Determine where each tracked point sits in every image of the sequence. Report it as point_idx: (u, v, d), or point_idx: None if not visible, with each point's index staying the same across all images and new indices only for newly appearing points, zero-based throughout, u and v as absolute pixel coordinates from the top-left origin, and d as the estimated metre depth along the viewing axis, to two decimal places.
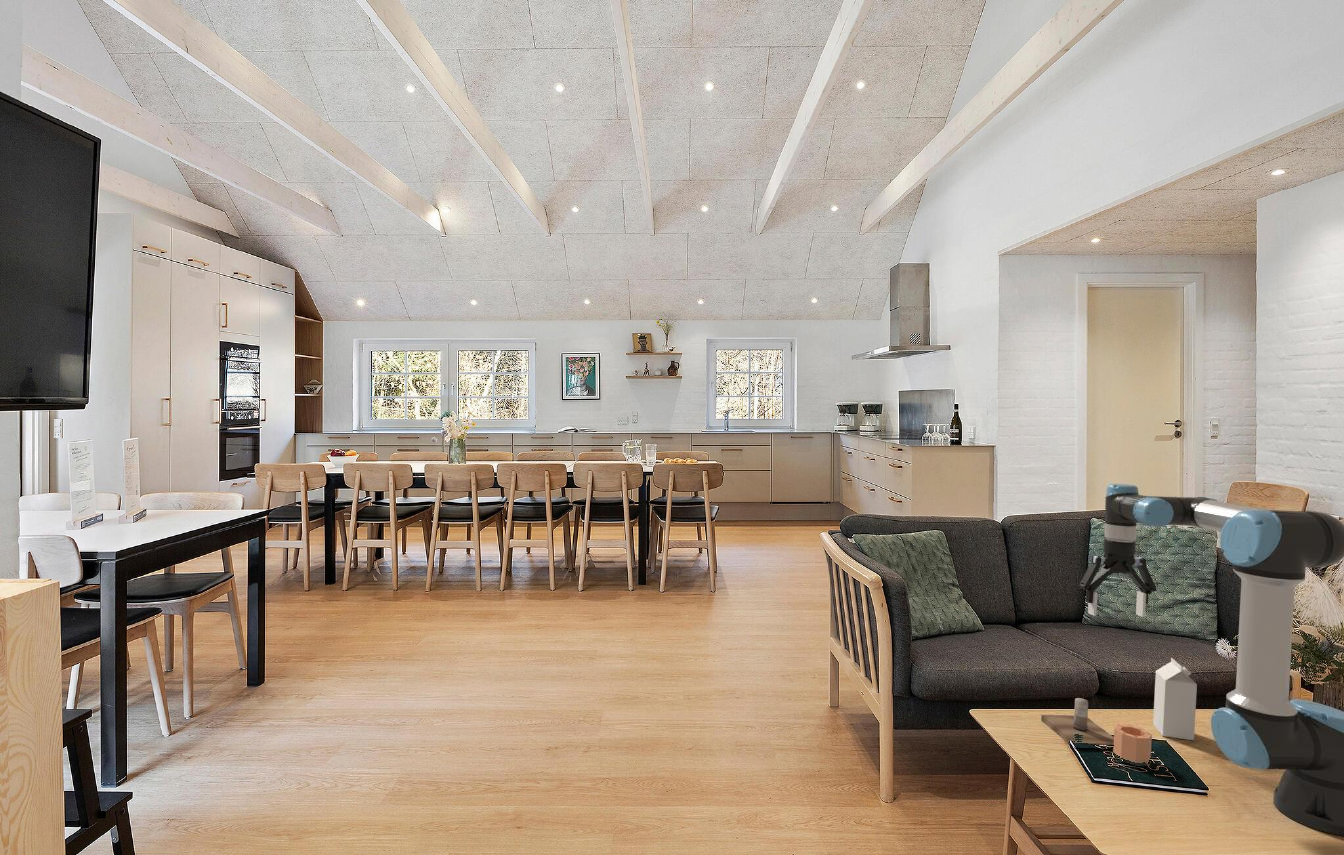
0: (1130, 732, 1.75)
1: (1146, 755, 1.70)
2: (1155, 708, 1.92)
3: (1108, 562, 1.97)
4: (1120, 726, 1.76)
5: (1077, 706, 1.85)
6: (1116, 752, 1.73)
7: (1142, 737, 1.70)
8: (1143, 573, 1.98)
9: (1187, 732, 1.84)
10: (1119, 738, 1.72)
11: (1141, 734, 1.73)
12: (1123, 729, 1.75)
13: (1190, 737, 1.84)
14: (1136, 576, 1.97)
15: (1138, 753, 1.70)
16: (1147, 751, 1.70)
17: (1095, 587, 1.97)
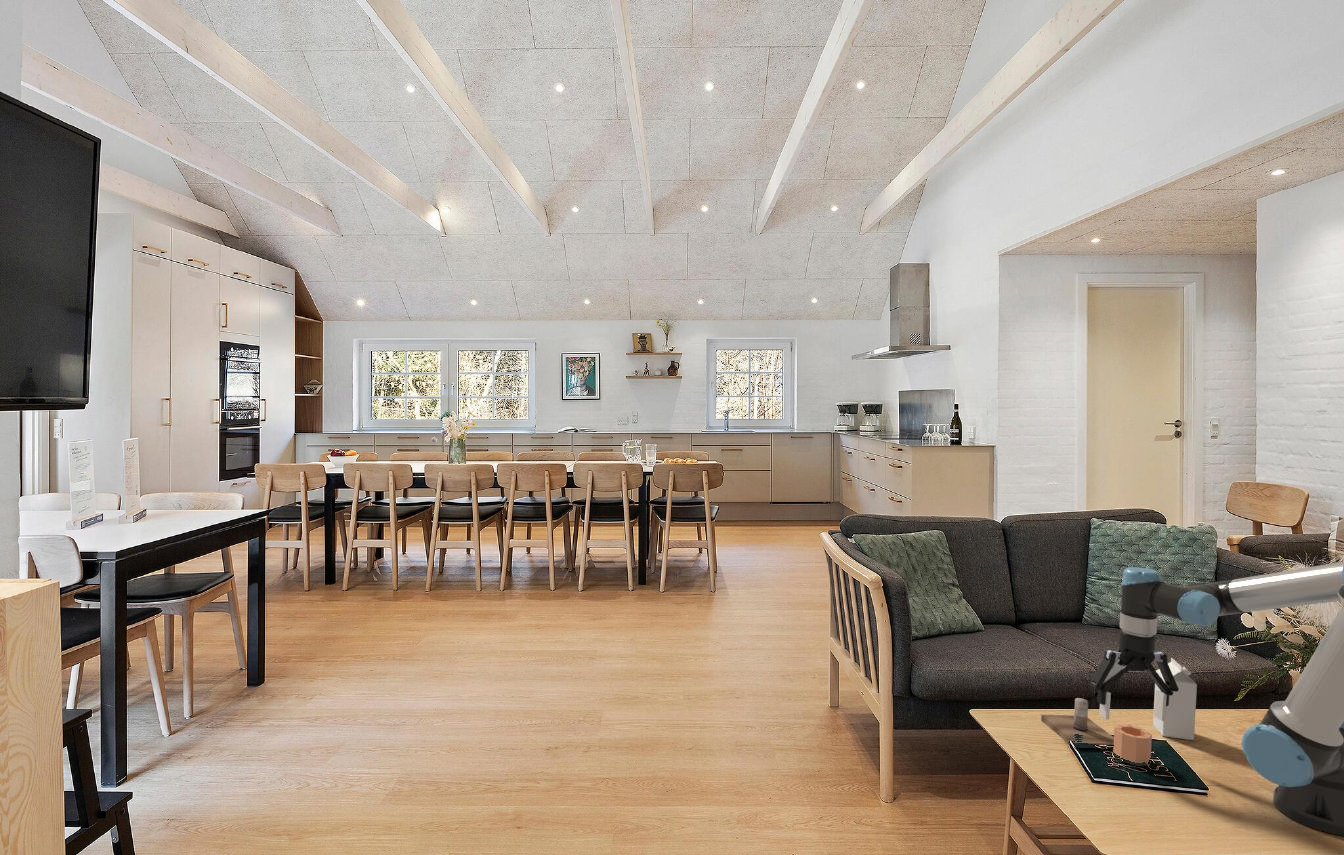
0: (1130, 732, 1.75)
1: (1146, 755, 1.70)
2: None
3: (1124, 658, 1.72)
4: (1120, 726, 1.76)
5: (1077, 706, 1.85)
6: (1116, 752, 1.73)
7: (1142, 737, 1.70)
8: (1163, 671, 1.73)
9: (1187, 731, 1.84)
10: (1119, 738, 1.72)
11: (1141, 734, 1.73)
12: (1123, 729, 1.75)
13: (1190, 737, 1.84)
14: (1155, 674, 1.72)
15: (1138, 753, 1.70)
16: (1147, 751, 1.70)
17: (1108, 687, 1.72)
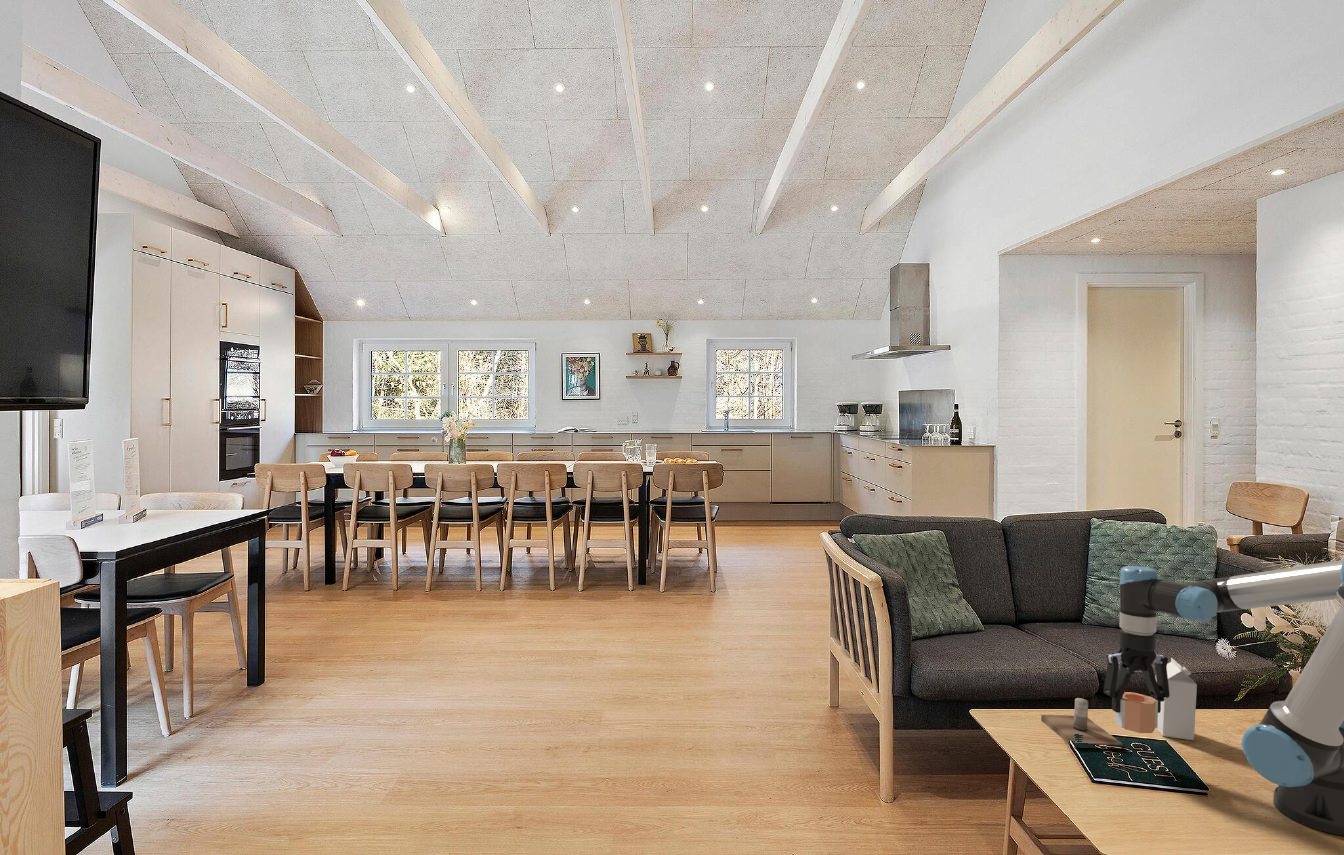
0: (1134, 699, 1.75)
1: (1150, 721, 1.69)
2: None
3: (1126, 658, 1.71)
4: None
5: (1077, 706, 1.85)
6: None
7: (1146, 703, 1.69)
8: (1159, 674, 1.72)
9: (1187, 731, 1.84)
10: None
11: (1145, 701, 1.73)
12: (1127, 696, 1.75)
13: (1190, 737, 1.84)
14: (1152, 677, 1.71)
15: (1142, 719, 1.69)
16: (1151, 717, 1.69)
17: (1121, 693, 1.71)
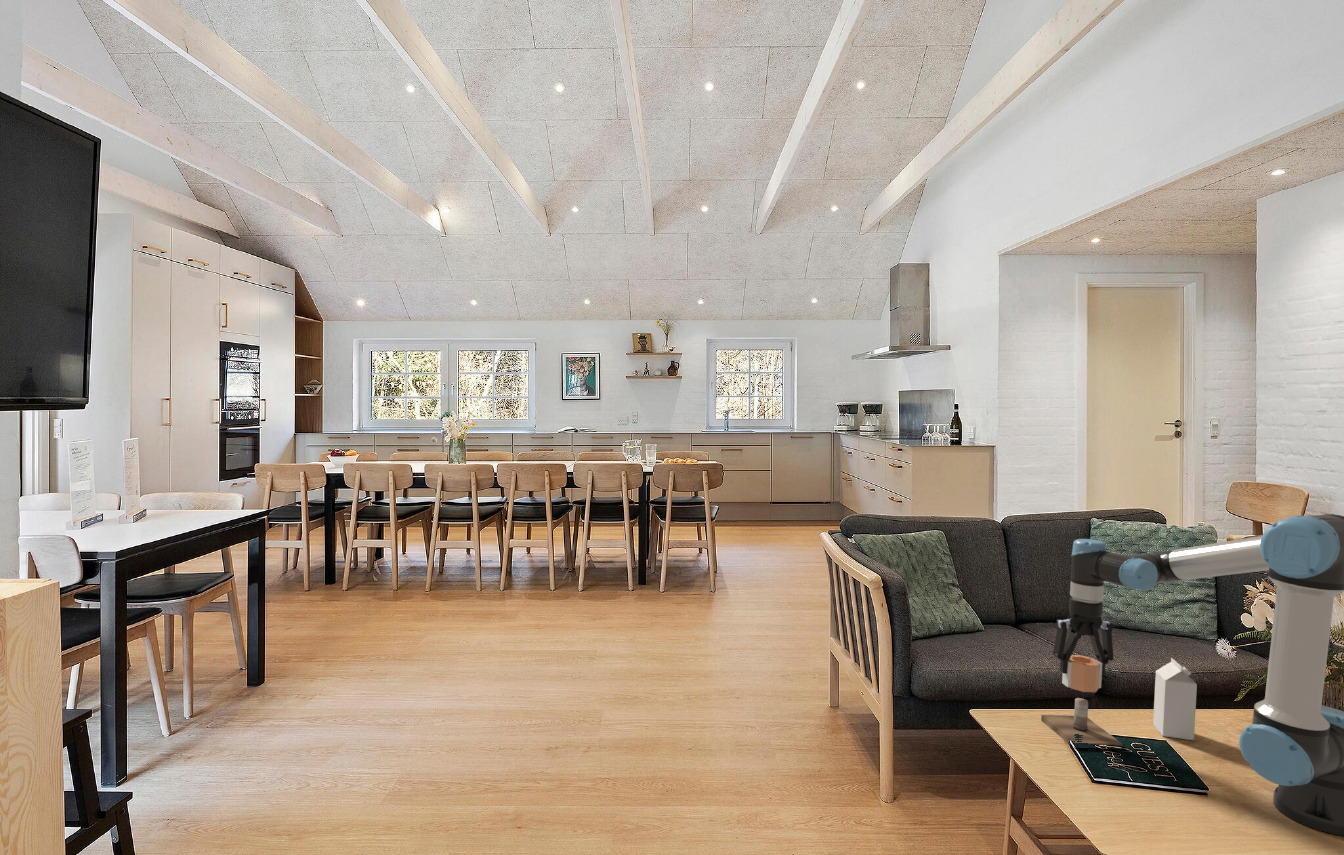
0: (1081, 662, 1.88)
1: (1094, 681, 1.82)
2: (1155, 708, 1.92)
3: (1074, 624, 1.84)
4: (1071, 656, 1.88)
5: (1077, 706, 1.85)
6: None
7: (1090, 664, 1.83)
8: (1105, 639, 1.85)
9: (1187, 732, 1.84)
10: None
11: (1090, 663, 1.86)
12: (1074, 659, 1.88)
13: (1190, 737, 1.84)
14: (1098, 641, 1.84)
15: (1087, 679, 1.82)
16: (1095, 677, 1.82)
17: (1069, 656, 1.85)
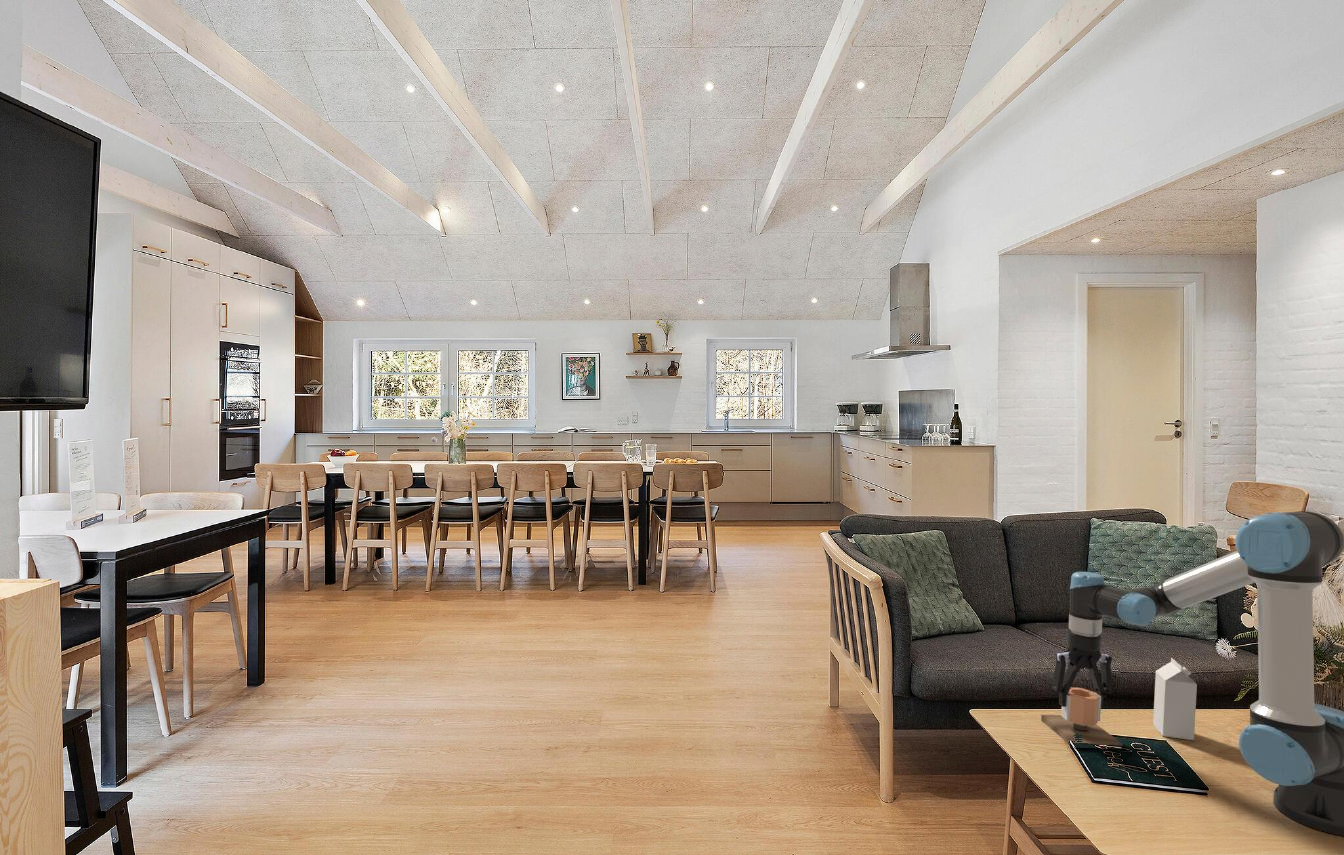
0: (1080, 694, 1.88)
1: (1093, 715, 1.83)
2: (1155, 708, 1.92)
3: (1073, 657, 1.85)
4: (1070, 689, 1.88)
5: None
6: None
7: (1089, 698, 1.83)
8: (1103, 672, 1.86)
9: (1187, 731, 1.84)
10: None
11: (1089, 696, 1.86)
12: (1073, 691, 1.88)
13: (1190, 737, 1.84)
14: (1097, 674, 1.85)
15: (1086, 713, 1.82)
16: (1094, 711, 1.83)
17: (1067, 689, 1.85)
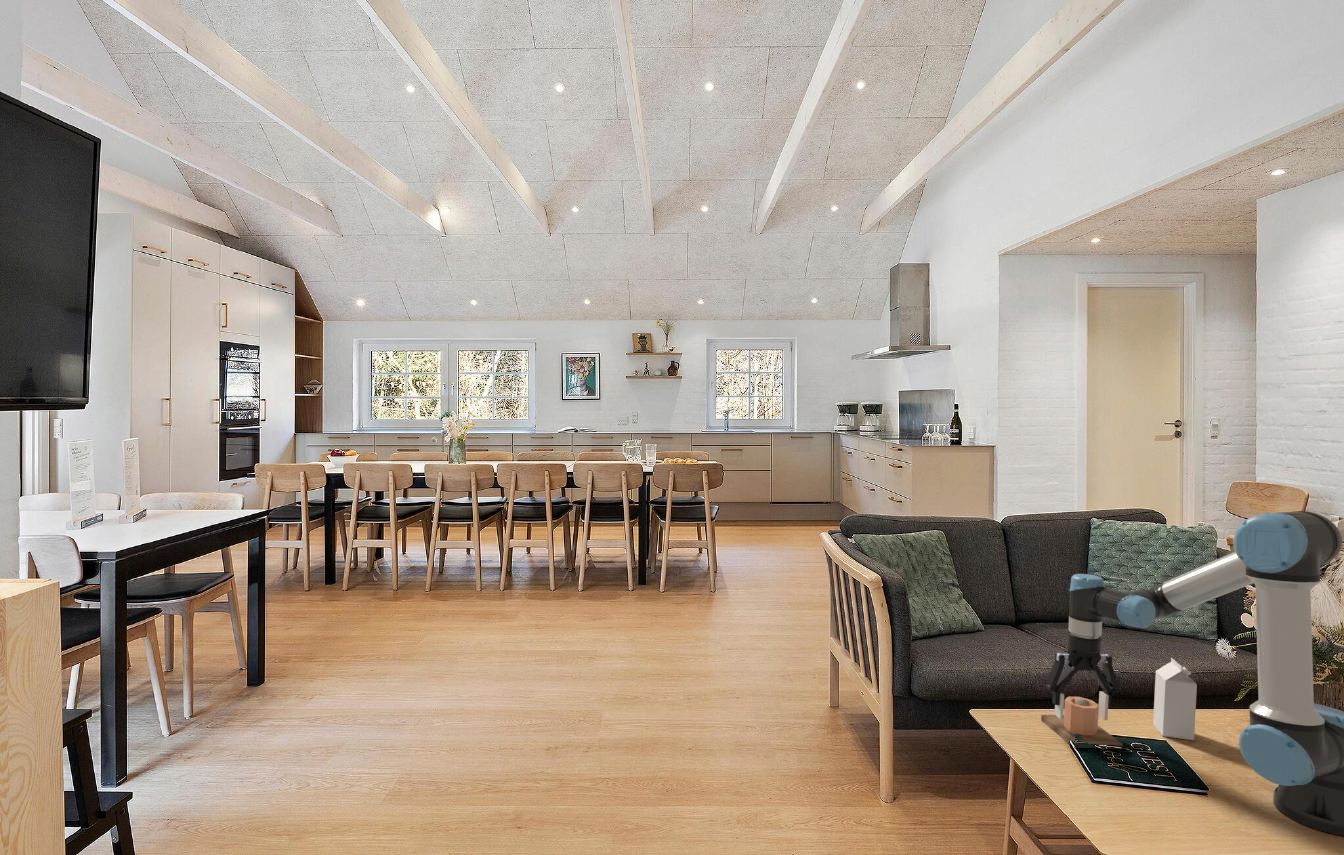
0: None
1: (1093, 724, 1.82)
2: (1155, 708, 1.92)
3: (1072, 659, 1.85)
4: (1070, 698, 1.88)
5: None
6: (1066, 722, 1.86)
7: (1089, 707, 1.83)
8: (1107, 672, 1.86)
9: (1187, 732, 1.84)
10: (1069, 709, 1.85)
11: (1089, 705, 1.86)
12: (1073, 701, 1.88)
13: (1190, 737, 1.84)
14: (1100, 675, 1.85)
15: (1086, 722, 1.82)
16: (1094, 720, 1.83)
17: (1061, 688, 1.85)
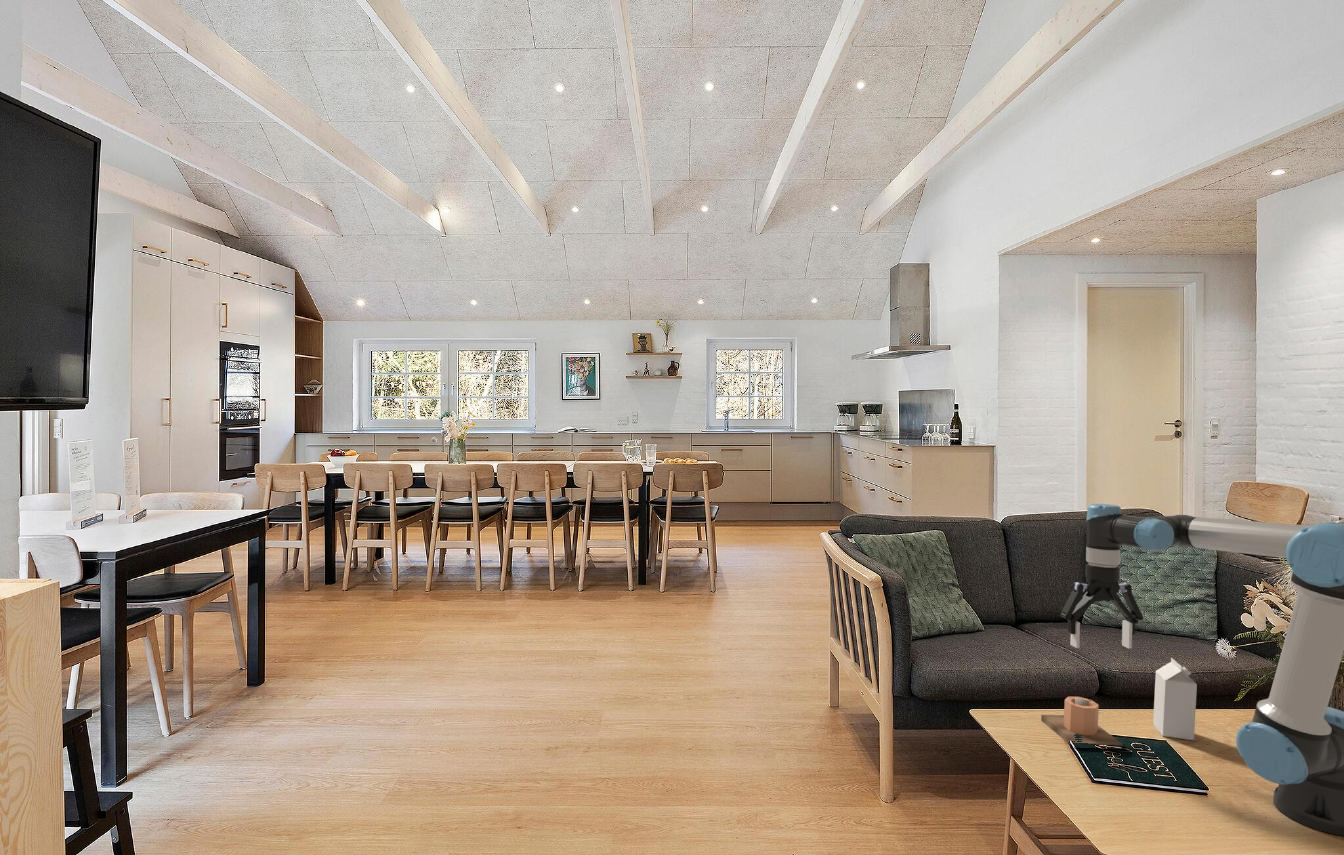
0: None
1: (1093, 724, 1.82)
2: (1155, 708, 1.92)
3: (1091, 589, 1.82)
4: (1070, 698, 1.88)
5: None
6: (1066, 722, 1.86)
7: (1089, 707, 1.83)
8: (1128, 601, 1.83)
9: (1187, 732, 1.84)
10: (1069, 709, 1.85)
11: (1089, 705, 1.86)
12: (1073, 701, 1.88)
13: (1190, 737, 1.84)
14: (1121, 604, 1.82)
15: (1086, 722, 1.82)
16: (1094, 720, 1.83)
17: (1077, 617, 1.82)
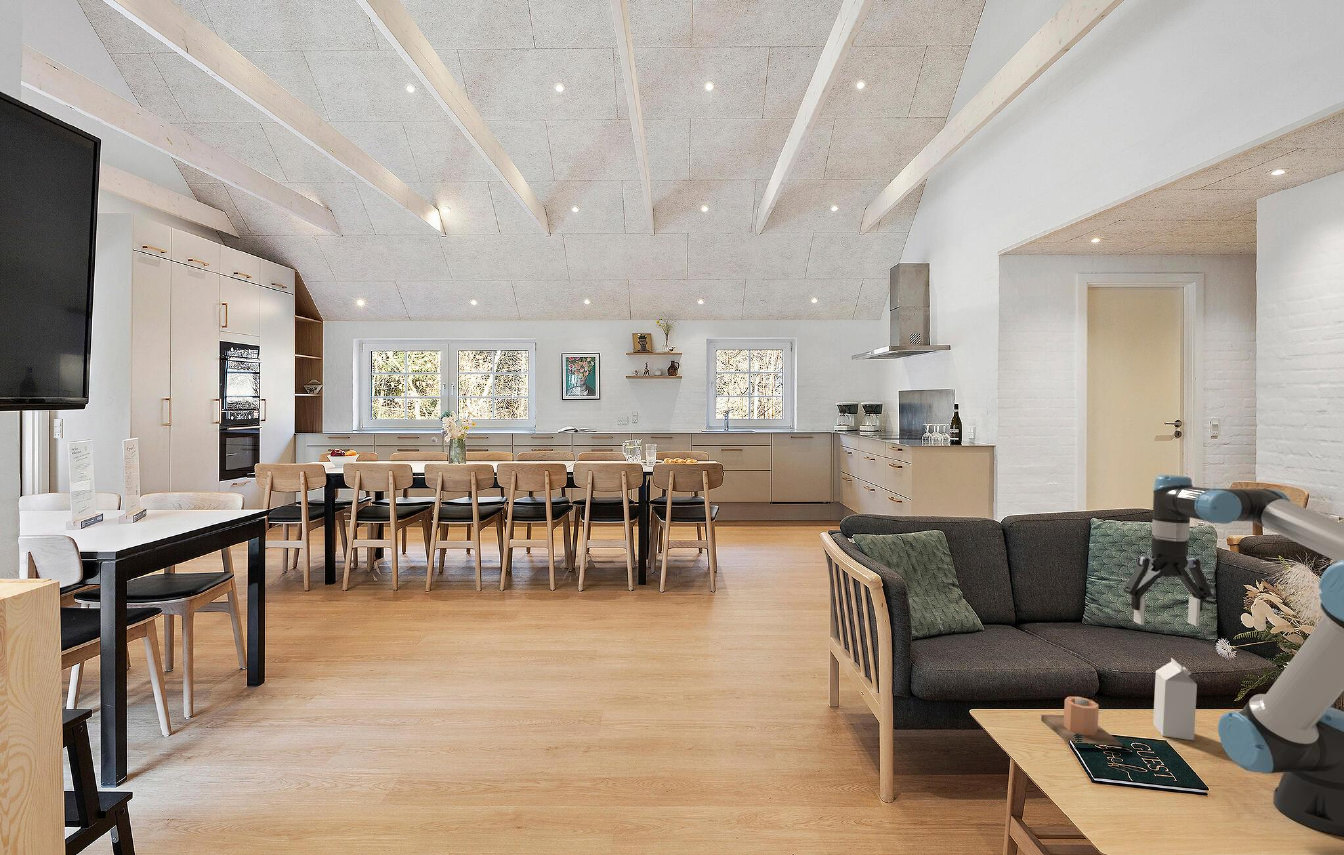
0: None
1: (1093, 724, 1.82)
2: (1155, 708, 1.92)
3: (1157, 564, 1.74)
4: (1070, 698, 1.88)
5: None
6: (1066, 722, 1.86)
7: (1089, 707, 1.83)
8: (1196, 576, 1.75)
9: (1187, 732, 1.84)
10: (1069, 709, 1.85)
11: (1089, 705, 1.86)
12: (1073, 701, 1.88)
13: (1190, 737, 1.84)
14: (1189, 579, 1.74)
15: (1086, 722, 1.82)
16: (1094, 720, 1.83)
17: (1142, 592, 1.74)
